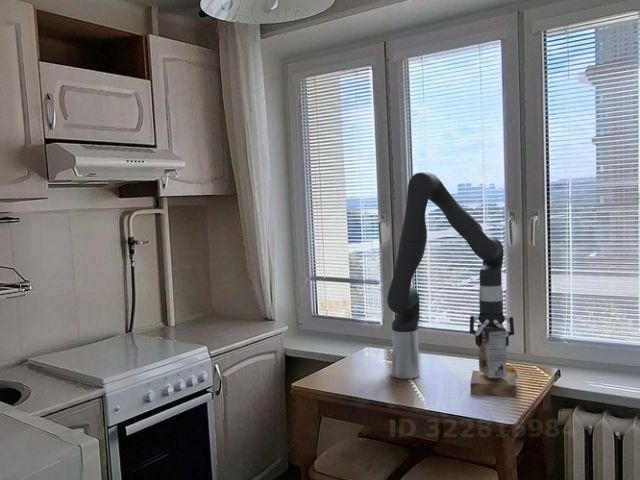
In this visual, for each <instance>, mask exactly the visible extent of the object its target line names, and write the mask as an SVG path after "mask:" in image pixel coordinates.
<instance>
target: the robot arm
mask: <svg viewBox="0 0 640 480" xmlns="http://www.w3.org/2000/svg"><path fill="white" fill-rule="evenodd" d="M429 201H431V202H432V203H433V204H434V205H435V206H437V208H438V209H440V210H441V212H442V213H443V215H444V216H445V218H446V220H447V221H448V223H449V225H450V226H451V227H452V228H453V229H454V230H455V231H456V232H457V233H458V234H459V235H460V237H462V238H463V239H464V240H465V241H466V243H467V244H468V246H469V247H470V249H471V251H472V252H473V253H474V254H475V255H476V256H477V257H478V258H479V259H481V260H482V266H481V268H480V269H479V289H478V290H479V292H478V299H479V300H478V302H479V303H478V305H479V315H473V314H471V315H469V334H471V335H474V336H475V337H474V338H475V345H476V346H477V348H479V347H480V335H479V334H480V333H481V332H482V330H483V328H484V327H495V328H504V329H506V327H505V326H504V325H503V323H504V322H505V321H506V322H507V324H509V330H507V329H506V347H509V338H510V336H514V335H515V327H514V326H515V324H514V316H513V315H509V316H505V315H504V300H503V299H504V293H503V286H502V285H503V283H502V282H503V281H502V280H503V279H502V268H503V262H504V254H505V253H504V246H503V243H502V242H501V241H500V239H498V238H495V237H494V238H493V237H492V238H491V237H488V235H487V234H486V233H485V231H484V230H483V227H482V226H481V224H480V223H479V222H478V221H477V220H476V219H475V218H474V217H473V216H472V215H470V214H469V212H468V211H466V210H465V208H463V206H461V205H460V204H459V202H458V201H457V200H456V198H454V196H453V195H452V194H451V193H450V192H449V191H448V189H447V187H445V185H444V184H443V182H442V181H441V179H440V178H439V177H438V176H437V175H436V174H434V173H432V172H416V173H414V174H413V175H412V176H411V177H410V179H409V182H408V185H407V194H406V206H405V207H406V208H405V214H404V218H403V225H402V230H401V234H400V238H399V244H398V245H399V246H398V250H397V251H398V252H397V256H396V262H395V267H394V272H393V276H392V279H391V283H390V286H389V288H388V293H387V297H386V299H387V306H388V308H389V309H390V311H392V312H393V313H396V316H395V318H394V320H393V321H392V323H391V330H392V332H391V333H392V334H391V335H392V351H391V366H392V367H391V369H392V377H393V378H398V379H402V380H409V379H410V380H411V379H416V378H418V377H419V376H420V367H419V365H420V364H419V337H418V336H419V335H418V330H419V329H418V326H419V325H418V324H419V322H420V295H419V293H418V291H417V289H416V288H415V287H413V286H412V280H413V277H414V274H415V273H416V271H417V269H418V267H419V266H420V263H421V261H422V259H423V257H424V255H425V251H426V245H427V239H428V230H427V225H426V224H427V223H426V211H427V206H428V202H429ZM477 321H478V322H480V324H481V326H480V327H479V328H478V327H477V329H476V330H475V329H474V328H475V323H476V322H477ZM482 327H483V328H482Z"/></svg>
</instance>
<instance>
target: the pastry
mask: <svg viewBox="0 0 640 480" xmlns="http://www.w3.org/2000/svg"><path fill="white" fill-rule="evenodd" d="M506 369H507V372H513V373H515V377H516V376H517V374H518V371H516V368H515V367H514V365H512V364H507V363H506Z"/></svg>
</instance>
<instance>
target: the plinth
mask: <svg viewBox="0 0 640 480" xmlns="http://www.w3.org/2000/svg"><path fill="white" fill-rule="evenodd" d="M470 395H471V396H477V397H478V396H481V397H494V398H495V397H496V398H497V397H498V398H511V399H512V398H513V399H514V398H515V399H516V398H517V382H516V376H515V373H513V372H507V377H496V378H488V377H487V376H486V375H485V374H484V373H482V372H481V371H480V370H472V373H471V378H470Z"/></svg>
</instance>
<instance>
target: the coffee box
mask: <svg viewBox="0 0 640 480" xmlns="http://www.w3.org/2000/svg"><path fill="white" fill-rule="evenodd" d="M480 326H481V323H478V324H477V329H478V328H479V327H480ZM482 328H483V327H482ZM504 328H505V327H504ZM504 328H495V327H484V328H483V330H482V332H481V333H480V334H479V335H480V347H478V366H479V367H478V368H479V369H478V371H481V372H482V373H484V374H485V375H486V376H487V377H488V378H496V377H507V369H506V365H507V346H506V330H507V329H506V328H505V329H504Z"/></svg>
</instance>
